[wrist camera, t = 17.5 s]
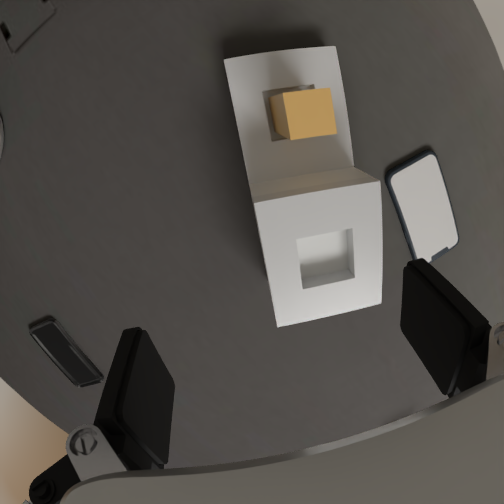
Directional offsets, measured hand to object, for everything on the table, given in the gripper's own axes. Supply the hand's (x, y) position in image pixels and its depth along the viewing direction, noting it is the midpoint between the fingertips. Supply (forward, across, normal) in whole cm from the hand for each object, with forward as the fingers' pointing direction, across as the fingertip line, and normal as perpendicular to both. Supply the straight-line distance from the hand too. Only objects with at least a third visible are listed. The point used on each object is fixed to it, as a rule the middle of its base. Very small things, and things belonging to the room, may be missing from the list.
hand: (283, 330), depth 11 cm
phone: (+30, +37, +22) cm, 52 cm away
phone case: (+28, -24, +10) cm, 39 cm away
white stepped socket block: (+28, -7, +2) cm, 29 cm away
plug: (+27, -7, -5) cm, 29 cm away
